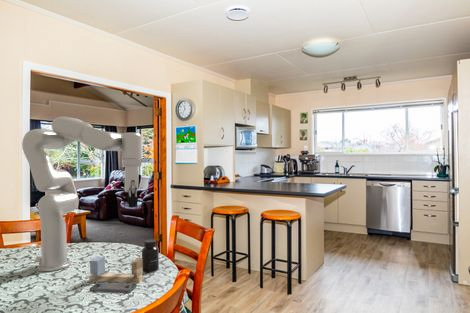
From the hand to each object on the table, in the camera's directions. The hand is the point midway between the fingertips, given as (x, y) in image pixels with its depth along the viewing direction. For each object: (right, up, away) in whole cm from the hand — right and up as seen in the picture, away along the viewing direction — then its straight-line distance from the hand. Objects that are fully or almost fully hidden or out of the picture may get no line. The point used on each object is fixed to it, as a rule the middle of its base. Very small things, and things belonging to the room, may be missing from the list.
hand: (132, 205), depth 128 cm
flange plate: (-2, -27, -16) cm, 32 cm away
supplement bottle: (+7, -27, +3) cm, 28 cm away
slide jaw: (-11, -25, -9) cm, 29 cm away
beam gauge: (-4, -27, -10) cm, 30 cm away
